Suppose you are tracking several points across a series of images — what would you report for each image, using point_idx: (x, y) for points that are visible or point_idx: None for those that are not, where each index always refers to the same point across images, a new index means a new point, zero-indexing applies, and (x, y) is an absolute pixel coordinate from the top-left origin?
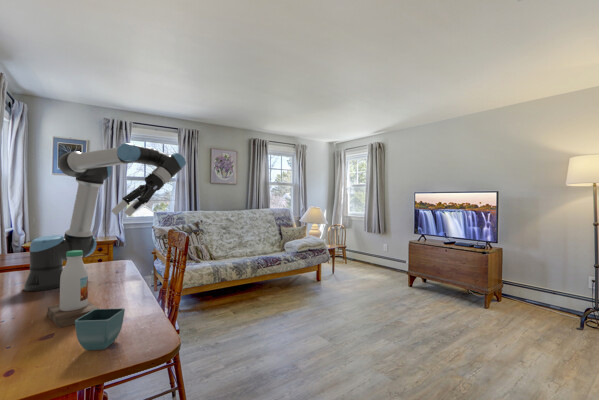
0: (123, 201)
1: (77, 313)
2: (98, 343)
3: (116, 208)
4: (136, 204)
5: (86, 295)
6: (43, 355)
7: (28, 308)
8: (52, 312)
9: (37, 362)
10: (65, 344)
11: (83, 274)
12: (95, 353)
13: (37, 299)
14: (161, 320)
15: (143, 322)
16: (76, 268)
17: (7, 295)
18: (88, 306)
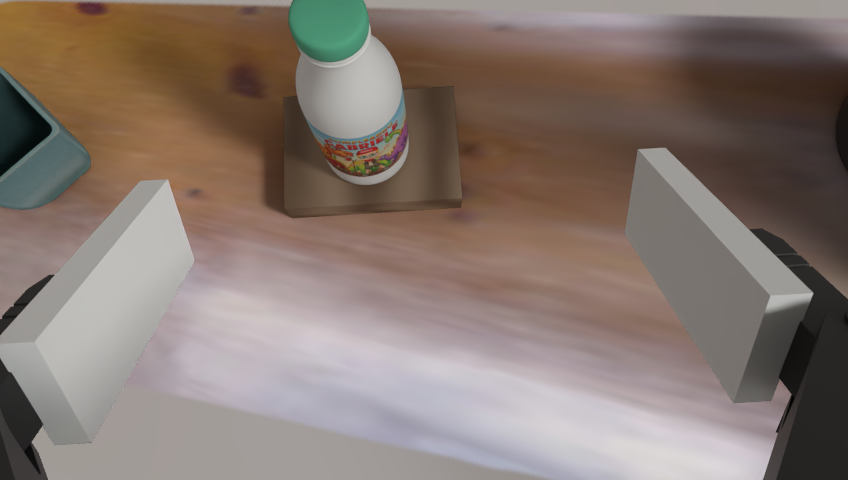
0: (747, 298)
1: (291, 145)
2: (4, 146)
3: (661, 207)
4: (4, 316)
5: (333, 163)
6: (123, 62)
7: (586, 65)
8: None
9: (94, 49)
10: (147, 107)
11: (303, 109)
12: None
13: (695, 96)
14: None
15: None
16: (298, 65)
17: (842, 23)
18: (342, 186)
